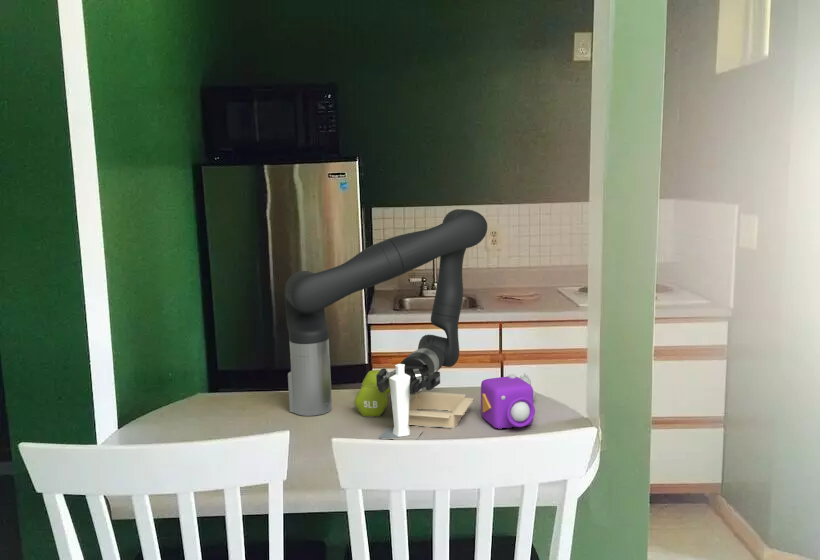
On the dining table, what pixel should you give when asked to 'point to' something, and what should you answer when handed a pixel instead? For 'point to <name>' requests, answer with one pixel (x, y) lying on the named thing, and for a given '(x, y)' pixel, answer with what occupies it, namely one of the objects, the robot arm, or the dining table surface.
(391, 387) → the white vase
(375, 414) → the dumbbell
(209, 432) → the dining table surface
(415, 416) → the carton
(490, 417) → the toy camera
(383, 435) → the mat
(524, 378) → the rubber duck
